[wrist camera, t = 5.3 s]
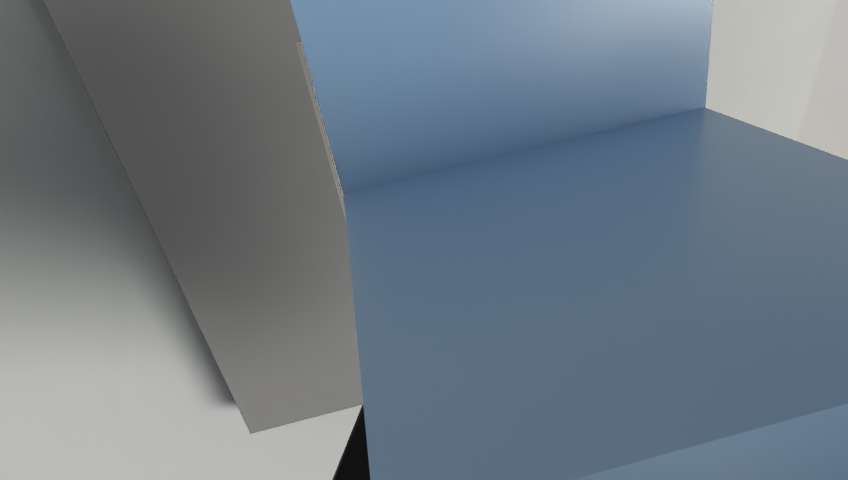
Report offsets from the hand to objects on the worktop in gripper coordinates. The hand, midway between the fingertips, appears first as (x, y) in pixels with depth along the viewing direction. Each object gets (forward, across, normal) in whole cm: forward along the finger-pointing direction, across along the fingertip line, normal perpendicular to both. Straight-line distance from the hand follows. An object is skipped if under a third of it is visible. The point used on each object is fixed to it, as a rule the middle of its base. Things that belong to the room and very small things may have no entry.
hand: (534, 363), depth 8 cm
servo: (+2, 0, 0) cm, 2 cm away
